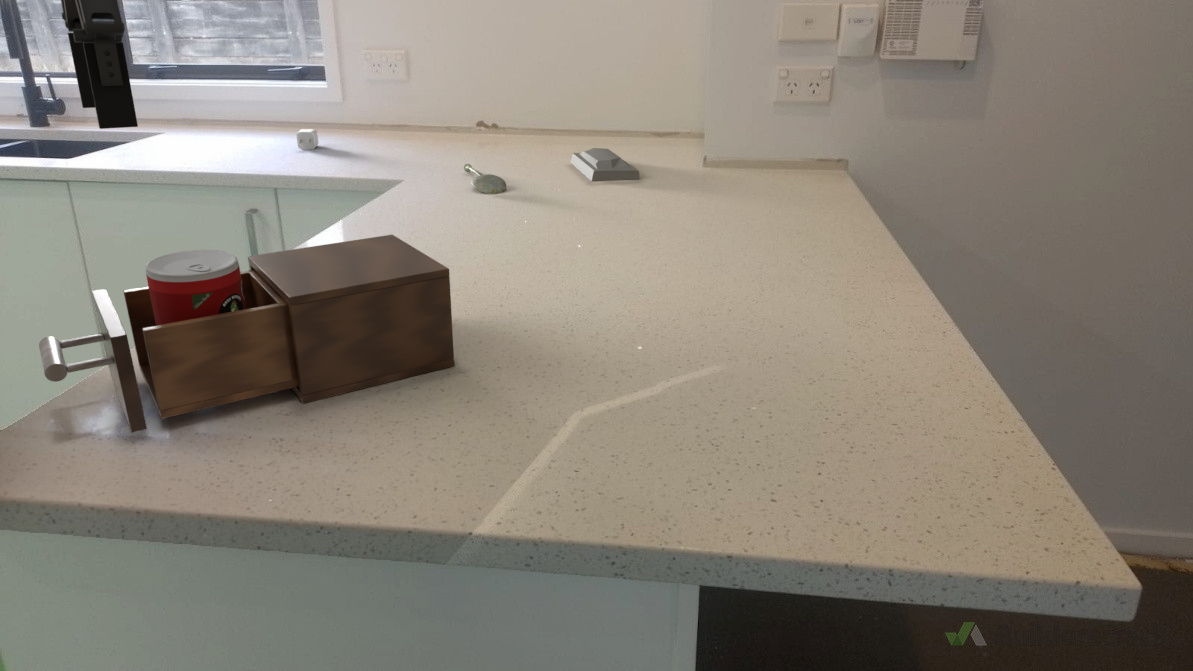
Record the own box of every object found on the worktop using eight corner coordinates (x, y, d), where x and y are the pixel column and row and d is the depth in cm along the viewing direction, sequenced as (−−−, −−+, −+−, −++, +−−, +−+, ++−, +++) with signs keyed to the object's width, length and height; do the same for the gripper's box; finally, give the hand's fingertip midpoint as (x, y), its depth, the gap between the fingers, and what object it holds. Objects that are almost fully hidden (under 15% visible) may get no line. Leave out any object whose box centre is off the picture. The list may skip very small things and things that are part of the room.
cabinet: (303, 403, 79) (289, 297, 75) (261, 351, 90) (247, 256, 86) (454, 366, 87) (449, 268, 83) (399, 322, 98) (392, 234, 94)
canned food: (214, 395, 76) (194, 279, 71) (146, 380, 78) (123, 268, 74) (272, 362, 82) (257, 255, 78) (208, 350, 85) (189, 245, 80)
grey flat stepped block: (591, 181, 171) (591, 164, 169) (570, 162, 189) (570, 146, 187) (639, 179, 173) (640, 162, 172) (614, 160, 191) (614, 145, 190)
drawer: (63, 449, 69) (37, 351, 65) (50, 388, 79) (27, 300, 75) (303, 391, 79) (291, 304, 76) (264, 344, 89) (253, 265, 86)
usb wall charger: (318, 145, 203) (316, 129, 201) (313, 151, 197) (311, 133, 195) (301, 145, 202) (299, 129, 201) (295, 151, 196) (293, 133, 195)
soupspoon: (476, 198, 158) (509, 197, 160) (476, 181, 157) (510, 180, 159) (452, 171, 177) (483, 171, 179) (452, 155, 175) (483, 155, 178)
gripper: (132, -179, 58) (182, 134, 66) (92, -142, 77) (135, 98, 85) (1, -195, 54) (71, 141, 62) (-7, -151, 73) (48, 101, 81)
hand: (108, 116), depth 73 cm, fingers open, 13 cm apart
